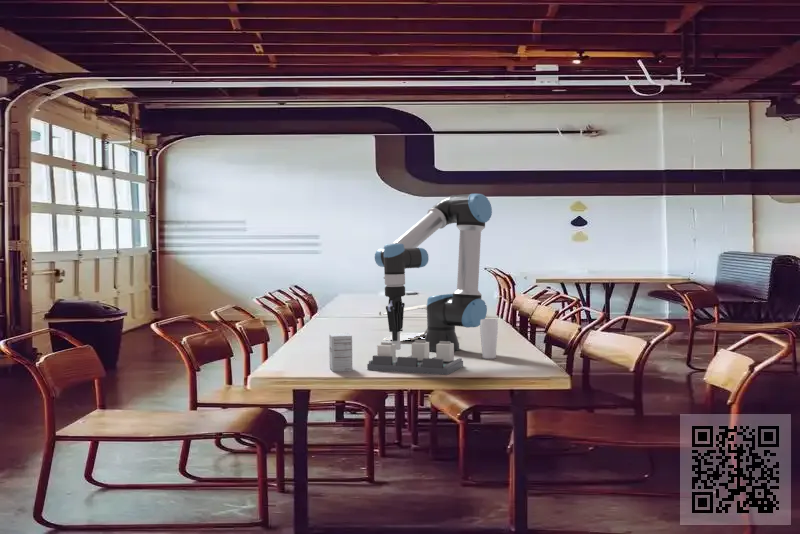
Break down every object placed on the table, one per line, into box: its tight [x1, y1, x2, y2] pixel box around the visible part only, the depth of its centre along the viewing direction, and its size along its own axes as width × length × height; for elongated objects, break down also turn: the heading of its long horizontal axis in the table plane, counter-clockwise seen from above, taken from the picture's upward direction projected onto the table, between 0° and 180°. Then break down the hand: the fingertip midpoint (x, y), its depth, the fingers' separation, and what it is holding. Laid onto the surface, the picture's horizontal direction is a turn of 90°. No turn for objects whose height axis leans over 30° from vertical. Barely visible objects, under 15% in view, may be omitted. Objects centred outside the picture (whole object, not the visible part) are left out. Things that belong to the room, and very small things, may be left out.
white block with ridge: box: [411, 339, 430, 360], centre depth 274 cm, size 5×5×7 cm
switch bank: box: [366, 355, 464, 376], centre depth 270 cm, size 18×30×5 cm, turn 68°
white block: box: [376, 341, 397, 362], centre depth 269 cm, size 5×5×7 cm
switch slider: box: [435, 341, 455, 362], centre depth 271 cm, size 5×5×7 cm
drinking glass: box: [479, 318, 499, 360], centre depth 290 cm, size 7×7×15 cm
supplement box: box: [328, 332, 353, 373], centre depth 268 cm, size 7×7×13 cm
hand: (396, 349), depth 277 cm, fingers closed
